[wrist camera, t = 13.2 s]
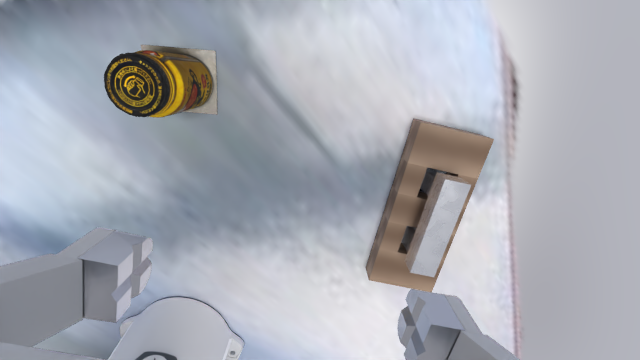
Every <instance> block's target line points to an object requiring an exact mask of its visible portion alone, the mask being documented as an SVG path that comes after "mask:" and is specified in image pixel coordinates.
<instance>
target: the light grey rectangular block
mask: <svg viewBox="0 0 640 360" xmlns="http://www.w3.org/2000/svg"><path fill="white" fill-rule="evenodd" d="M420 188H421V189H422V190H423V191H424V192H425V193H426V194H427V195H428V198H427V201H426V204H425V206H424V209H423V212H422V215H421V217H420V220H419V223H418V226H417V228H415V227H410V226H407V227H406V230H405V233H404V235H403V238H402V243H403V245H404V247H405V249H406V251H407V256H406V259H405V263H406V265H407V267H408V269H409V271H410V273H415V274H420V275H425V276H430V277H434V276H435V274H436V272H437V269H438V267H439V264H440V262H441V259H442V257H443V254H444V252H445V249H446V247H447V244H448V242H449V239H450V237H451V234H452V232H453V230H454V227H455V225H456V222H457V220H458V217H459V215H460V212H461V210H462V207H463V205H464V202H465V200H466V197H467V195H468V192H469V190H470V188H471V184H469V183H468V182H467V181H465V180H464V179H462V178H460V177H455V176H451V175H447V174H443V173H442V172H441V171H437V170H433V169H428V168H427V170H426V173H425V176H424V179H423V181H422V184H421V187H420Z"/></svg>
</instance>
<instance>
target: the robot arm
mask: <svg viewBox="0 0 640 360" xmlns="http://www.w3.org/2000/svg"><path fill="white" fill-rule="evenodd" d="M152 251H153V240H152V239H151V238H150V237H145V236H140V235H136V234H131V233H126V232H122V231H116V230H113V229H107V228H102V227H99V228H95V229H93V230H92V231H90V232H89V233H87V234H86V235H84V236H83V237H82V238H80V239H79V240H77V241H76V242H74V243H73V244H71V245H70V246H68V247H67V248H65V249H64V250H62V251H61V252H59V253H58V254H56V255H54V254H47V255H43V256H39V257H35V258H31V259H27V260H23V261H19V262H14V263H10V264H6V265H2V266H0V360H106V359H100V358H94V357H88V356H81V355H75V354H69V353H63V352H57V351H51V350H45V349H40V348H34V347H32V346H34V345H36V344H38V343H40V342H42V341H44V340H46V339H47V338H49V337H51V336H53V335H55V334H57V333H59V332H61V331H62V330H64V329H66V328H68V327H70V326H72V325H74V324H76V323H77V322H79V321H81V320H83V318H86V319H93V320H100V321H107V322H114V323H116V322H117V321H118V320H119V319H120V318H121V316H122V315H123V314H124V313H125V312H126V310H127V309H128V308H129V307H130V305H131V298H133V297H135V296H138V295H139V294H140V293H141V292H142V291H143V289H144V288H145V286H146V284H147V282H148V280H149V277H150V273H151V266H152V263H151V262H150V260H149V258H148V257H147V256H148V255H149V254H150V253H151V252H152ZM406 302H407V304H408V306H407V307H406V308H404V309H403V310H402V311H401V313H400V316H399V319H398V336H399V339H400V342H401V343H402V344H403V345H404V346H405V347H406V351H405V353H404V356H405V359H406V360H520V359H518V358H517V357H516V356H514V355H513V354H512V353H510V352H509V351H508V350H506V349H505V348H504V347H503V346H501V345H500V344H499V343H497V342H496V341H495V340H493V339H492V338H491V337H489V336H488V335H483V334H482V332H481V331H480V329H479V328H478V326H477V324H476V323H475V321H474V320H473V318H472V317H471V315H470V314H469V312H468V310H467V309H466V307H465V306H464V304H463V303H462V301H461V300H460V299H459V298H458V297H457V296H451V295H445V294H437V293H431V292H426V291H420V290H414V289H411V290H410V291H409V293H408V295H407V297H406ZM120 334H121V340H120V341H119V343H118V344H117V346H116V347H115V349H114V351H113V352H112V354H111V355H110V357H109V358H108V360H238V358H239V356H240V354H241V352H242V350H243V347H244V342H243V340H242V339H241V338H240V337H238V336H237V335H236V334H234V333H233V332H232V331H231V330H230V329H229V327H228V325H227V324H226V322H225V321H224V319H223V318H222V317H221V315H220V314H219V313H218V312H216V311H215V310H214V309H213V308H211V307H210V306H208V305H206V304H204V303H202V302H199V301H196V300H193V299H189V298H181V297H174V298H166V299H162V300H159V301H157V302H155V303H153V304H151V305H150V306H148V307H147V308H146V309H145V310H144V311H143V312H142V313H140V314H139V315H137V316H133V317H130V318H128V319H126V320H124V321H123V323H122V324H121V326H120Z"/></svg>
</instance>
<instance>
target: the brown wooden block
mask: <svg viewBox="0 0 640 360" xmlns="http://www.w3.org/2000/svg"><path fill="white" fill-rule="evenodd" d="M493 140H494V139H491V138H489V137H486V136H483V135H480V134H476V133H471V132H467V131H463V130H459V129H455V128H451V127H446V126H442V125H438V124H434V123H430V122H426V121H421V120H417V119H413V122H412V125H411V129H410V132H409V135H408V138H407V141H406V144H405V147H404V150H403V153H402V156H401V160H400V163H399V166H398V169H397V172H396V175H395V178H394V181H393V184H392V188H391V191H390V194H389V197H388V200H387V203H386V206H385V209H384V212H383V216H382V219H381V222H380V225H379V228H378V231H377V234H376V237H375V240H374V244H373V247H372V250H371V253H370V256H369V259H368V262H367V265H366V270H367V274H368V278H369V280H371V281H376V282H381V283H386V284H391V285H397V286H402V287H407V288H412V289H417V290H422V291H427V292H432V290H433V287H434V285H435V282H436V280H437V277H438V275H439V273H440V270H441V268H442V265H443V263H444V260H445V258H446V255H447V253H448V250H449V248H450V246H451V243H452V241H453V238H454V236H455V233H456V231H457V228H458V226H459V224H460V221H461V219H462V216H463V214H464V211H465V209H466V206H467V204H468V202H469V199H470V197H471V194H472V192H473V189H474V187H475V184H476V182H477V180H478V177H479V175H480V172H481V170H482V167H483V165H484V162H485V160H486V158H487V155H488V153H489V150H490V148H491V145H492V143H493ZM427 167H428V168H432V169H437V170H441V171H446V172H447V175H451V176H455V177H460V178H462V179H464V180H465V181H467V182H468V183H469V184H471V188H470V190H469V192H468V195H467V197H466V200H465V202H464V205H463V207H462V210H461V212H460V215H459V217H458V220H457V222H456V225H455V227H454V230H453V232H452V234H451V237H450V239H449V242H448V244H447V247H446V249H445V252H444V254H443V257H442V259H441V262H440V264H439V267H438V269H437V272H436V274H435V276H434V277H430V276H425V275H420V274H415V273H410V271H409V269H408V267H407V265H406V263H405V259H406V256H407V251H406V249H405V247H404V245H403V243H401V241H402V238H403V235H404V233H405V230H406V227H407V226H410V227H415V228H417V226H418V223H419V220H420V217H421V215H422V212H423V209H424V206H425V204H426V201H427V198H428V195H427V194H426V193H425V192H420V191H419V190H420V187H421V184H422V181H423V179H424V176H425V173H426V170H427Z"/></svg>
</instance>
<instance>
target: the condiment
mask: <svg viewBox="0 0 640 360" xmlns="http://www.w3.org/2000/svg"><path fill="white" fill-rule="evenodd" d="M141 48H142V51H138V52H135V53H126V54H120V55H119V56H117V57H115V58H114V59H113V60H112V61H111V63H110V64H109V65H108V67H107V69H106V71H105V74H104V82H105V89H106V92H107V95H108V97H109V98H110V100H111V101H112V102H113V103H114V105H115V106H116V107H117V108H119V109H120V110H122V111H124V112H125V113H127V114H129V115H133V116H138V117H147V116H148V117H149V116H150V117H164V116H168V115H172V114H176V113H179V112H192V113H205V114H217V78H216V51H211V50H199V49H187V48H175V47H164V46H151V45H141Z"/></svg>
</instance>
